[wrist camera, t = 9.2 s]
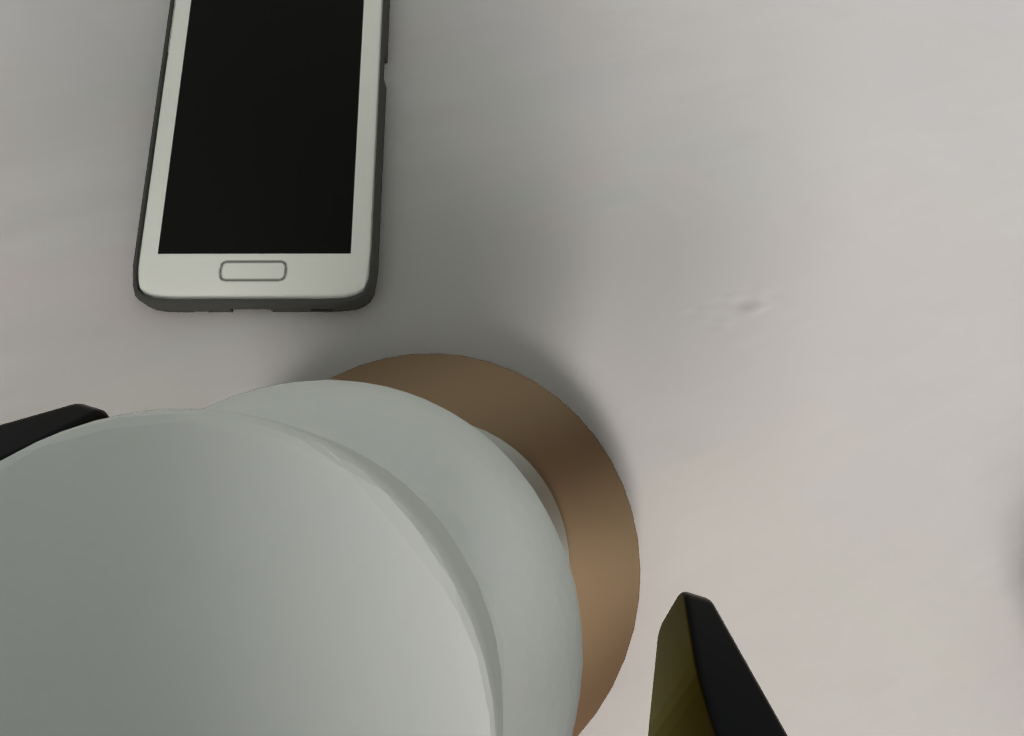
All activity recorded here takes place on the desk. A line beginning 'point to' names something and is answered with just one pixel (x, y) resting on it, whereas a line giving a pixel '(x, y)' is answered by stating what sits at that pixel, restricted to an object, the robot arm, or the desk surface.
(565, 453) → the brown rimmed plate
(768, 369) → the desk surface
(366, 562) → the supplement bottle
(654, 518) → the desk surface
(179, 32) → the cell phone
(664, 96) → the desk surface
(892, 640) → the desk surface
